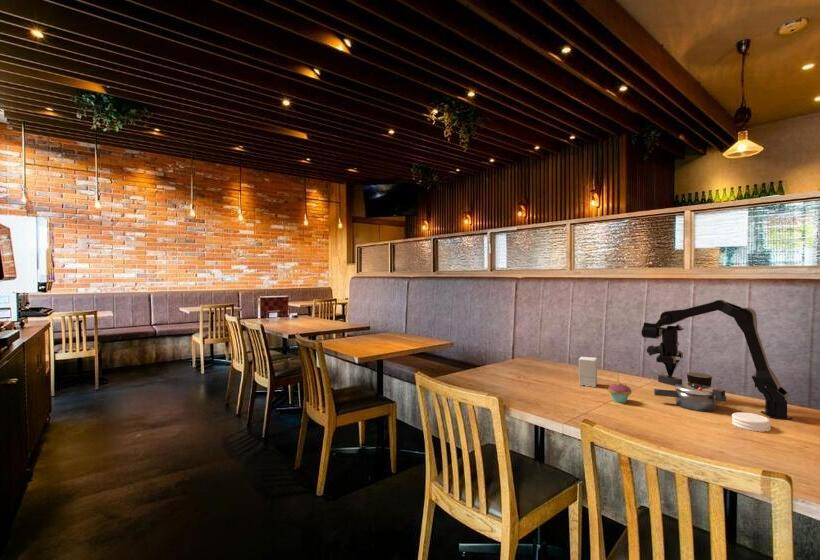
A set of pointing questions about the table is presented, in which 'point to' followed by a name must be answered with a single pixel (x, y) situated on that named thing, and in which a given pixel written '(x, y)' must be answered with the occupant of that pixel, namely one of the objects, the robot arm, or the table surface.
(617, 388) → the cupcake
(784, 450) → the table surface
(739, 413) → the coaster
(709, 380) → the coffee mug
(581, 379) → the supplement box
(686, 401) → the pot
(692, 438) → the table surface
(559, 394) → the table surface
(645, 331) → the robot arm
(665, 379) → the lid
